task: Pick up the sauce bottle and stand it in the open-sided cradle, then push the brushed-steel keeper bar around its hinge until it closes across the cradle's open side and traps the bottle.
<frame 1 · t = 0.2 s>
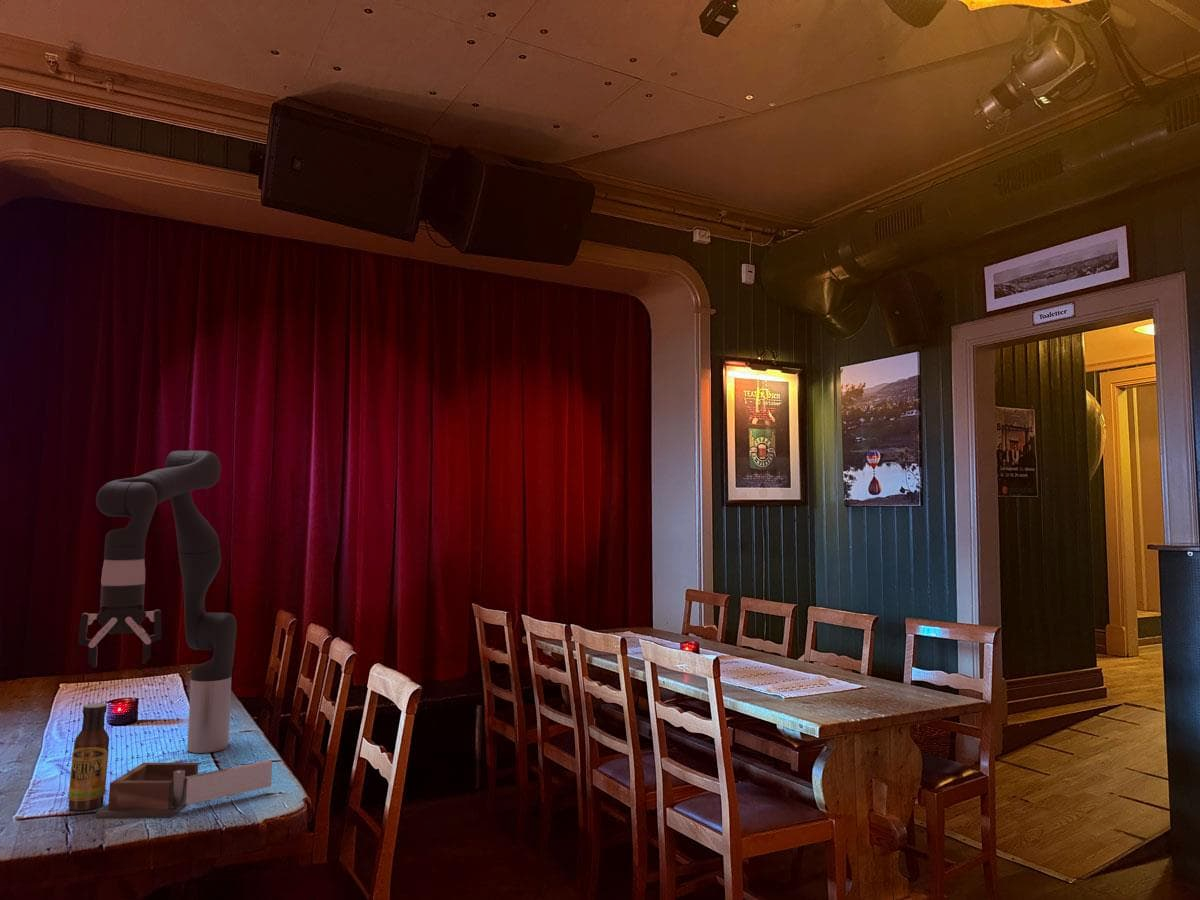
hand: (119, 664, 162), 29 cm above the table, tool pointing down, fingers open, 8 cm apart
cradle: (158, 802, 166), on the table
keeper: (223, 779, 167), point 5 cm above the table, hinge at 50.0°
sauce bottle: (86, 807, 163), on the table
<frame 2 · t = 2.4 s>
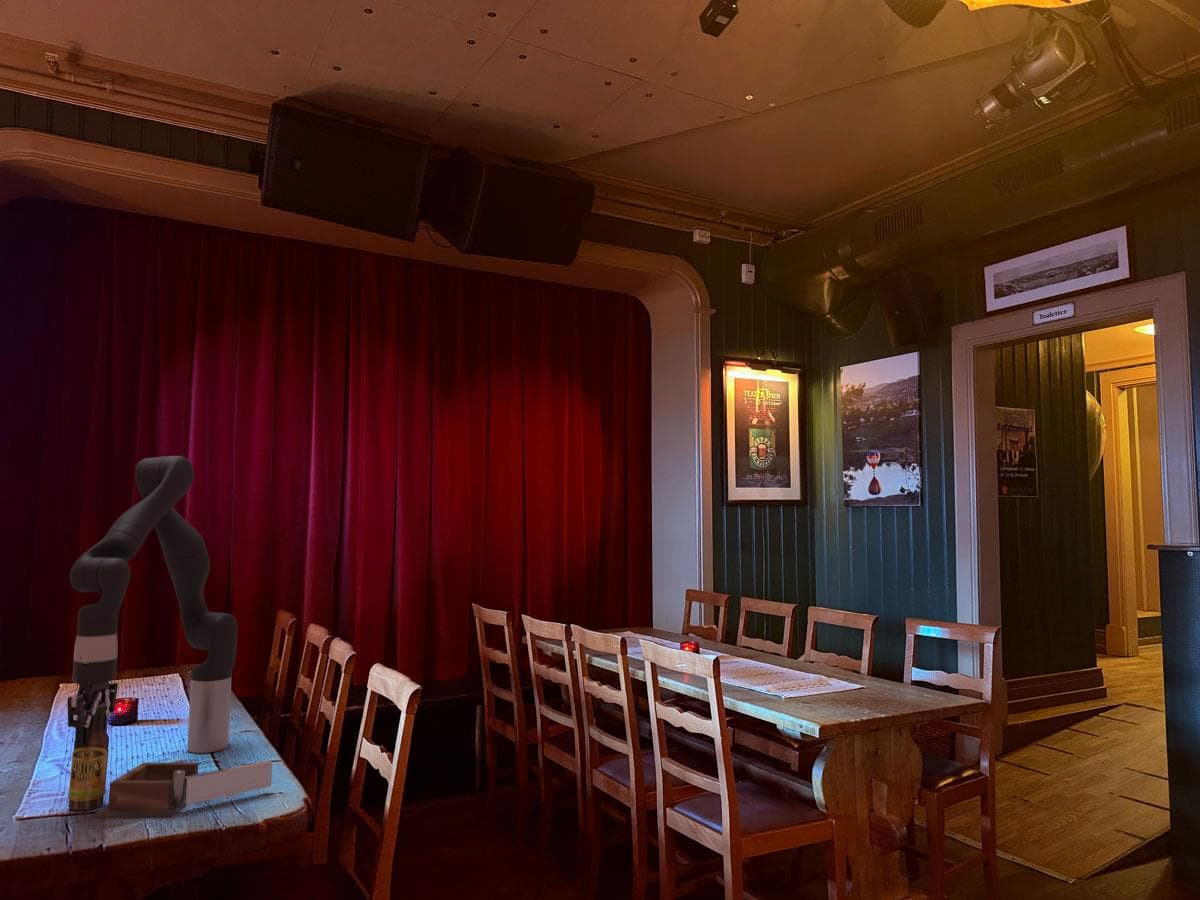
hand: (90, 741, 164), 13 cm above the table, tool pointing down, fingers closed on sauce bottle, 6 cm apart
sauce bottle: (86, 807, 163), on the table, touching gripper
everything else where it was.
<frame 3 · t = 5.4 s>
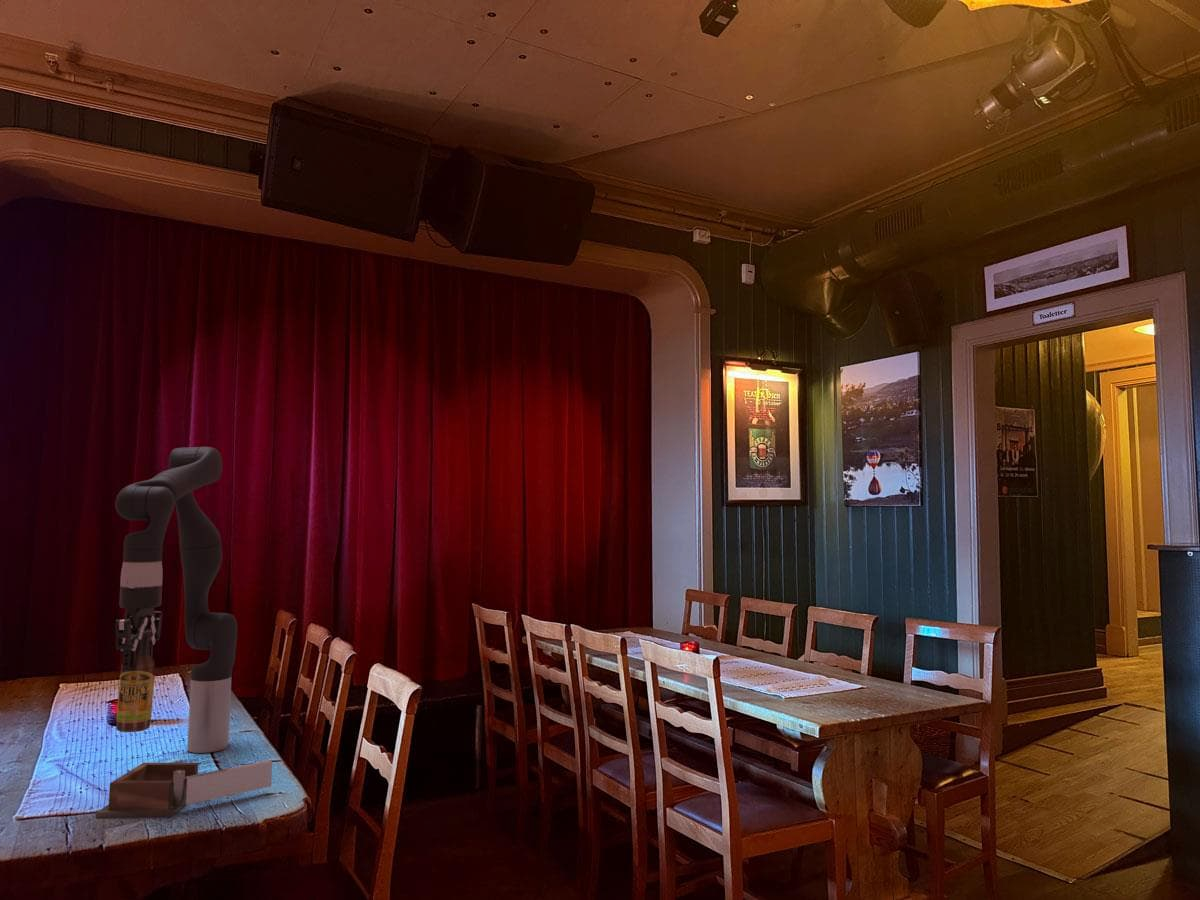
hand: (137, 666, 167), 27 cm above the table, tool pointing down, fingers closed on sauce bottle, 6 cm apart
sauce bottle: (133, 730, 166), point 14 cm above the table, touching gripper
everything else where it was.
when the fingers open (15 cm above the table, at t = 8.7 s): sauce bottle drops 1 cm, resting on cradle.
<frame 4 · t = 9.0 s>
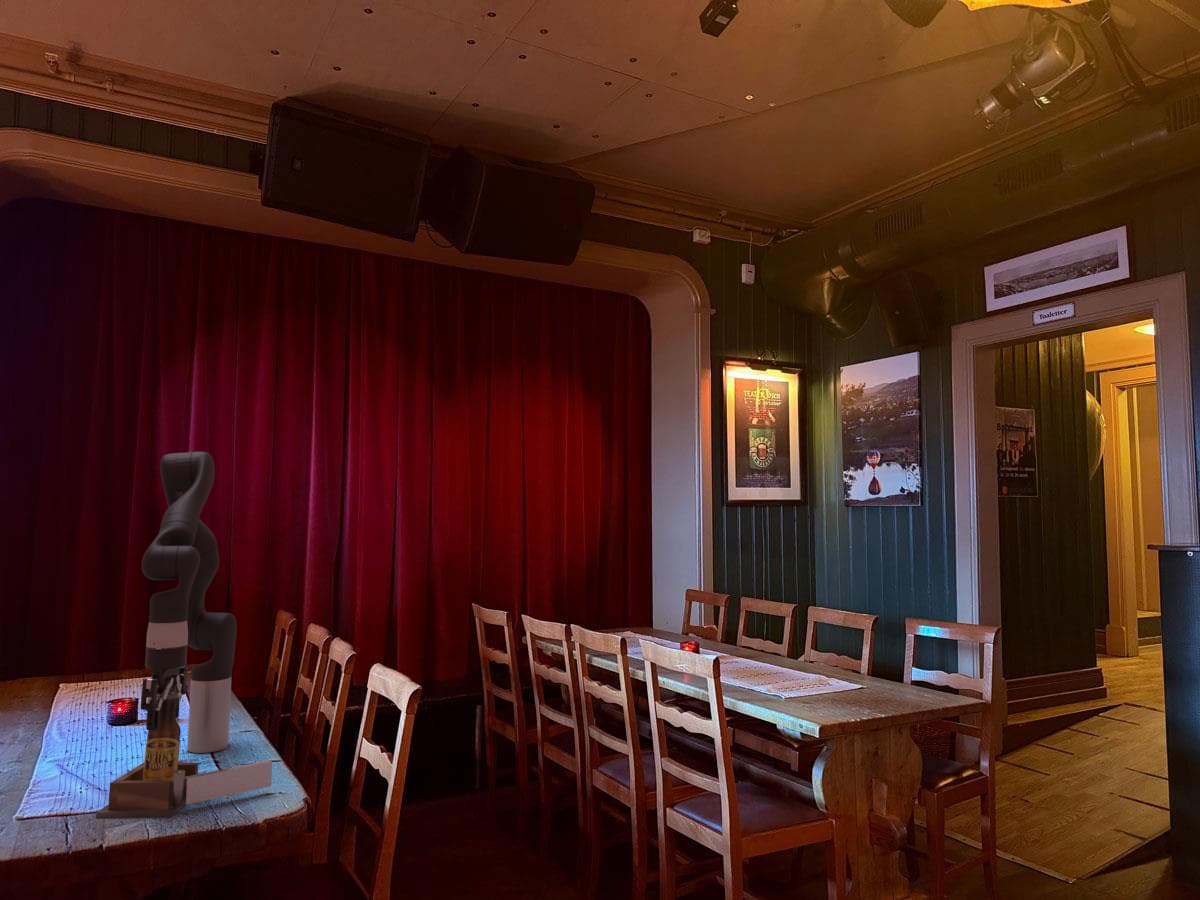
hand: (162, 724, 167), 16 cm above the table, tool pointing down, fingers open, 8 cm apart
sauce bottle: (158, 798, 166), point 1 cm above the table, touching cradle
everything else where it was.
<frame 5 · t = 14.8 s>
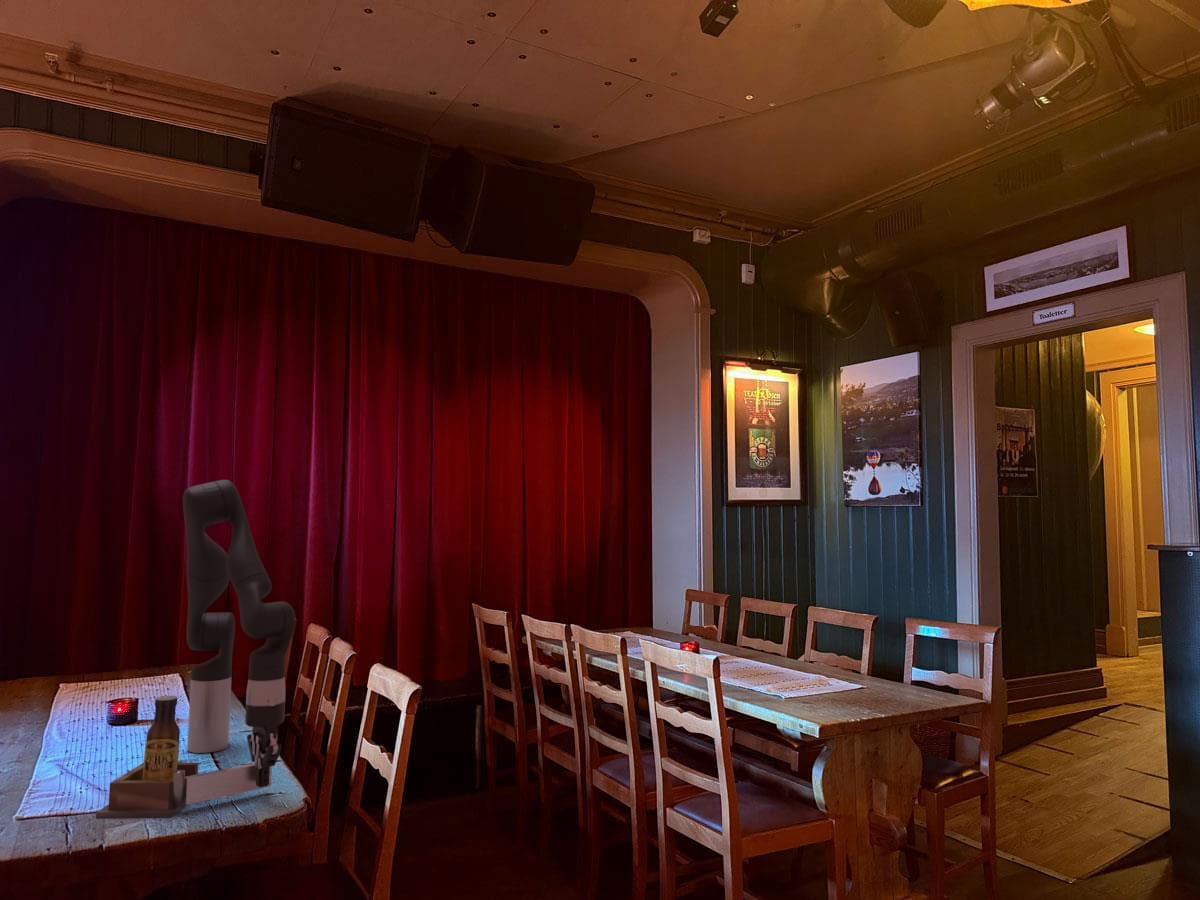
hand: (262, 785, 169), 3 cm above the table, tool pointing down, fingers closed
keeper: (223, 779, 167), point 5 cm above the table, hinge at 49.7°, touching gripper
everything else where it was.
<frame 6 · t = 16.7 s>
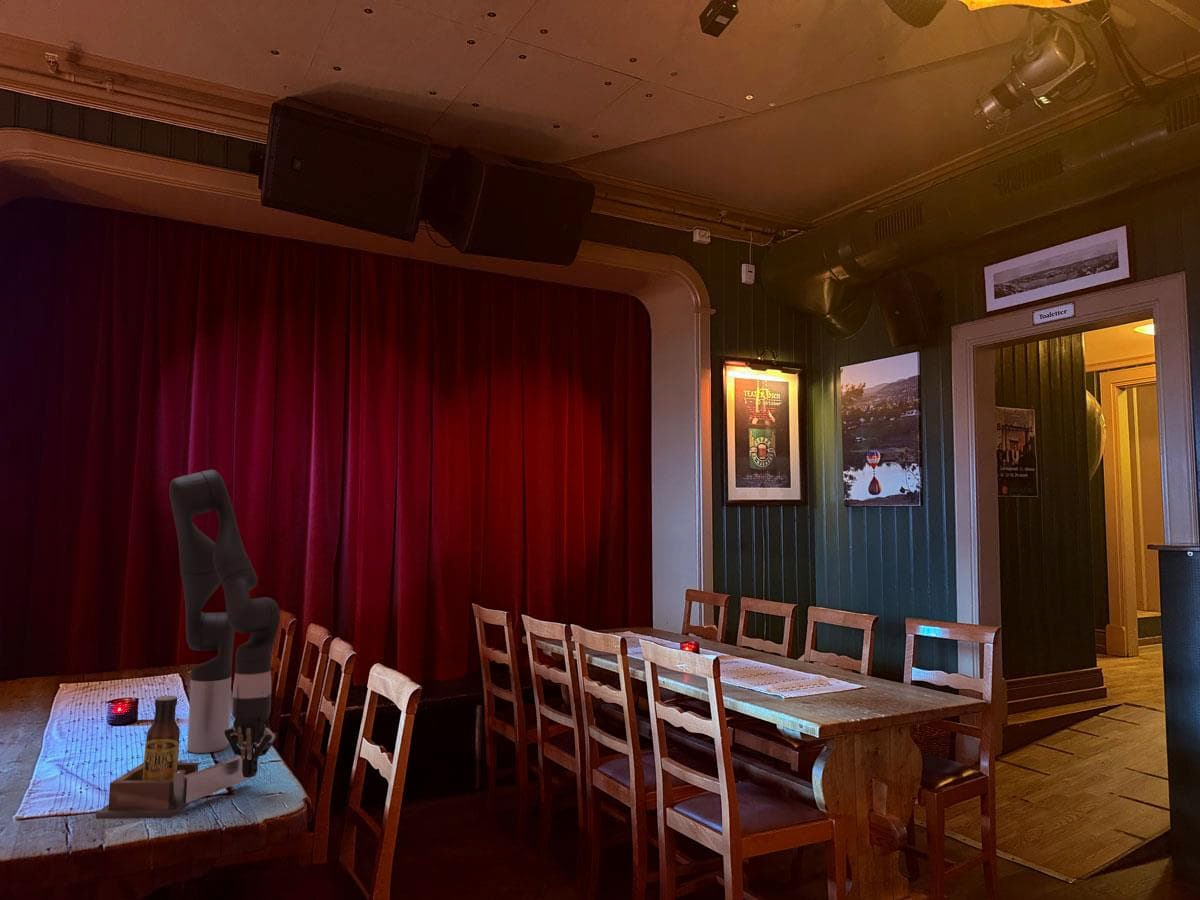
hand: (249, 776, 174), 3 cm above the table, tool pointing down, fingers closed
keeper: (213, 775, 169), point 5 cm above the table, hinge at 24.1°, touching gripper
everything else where it was.
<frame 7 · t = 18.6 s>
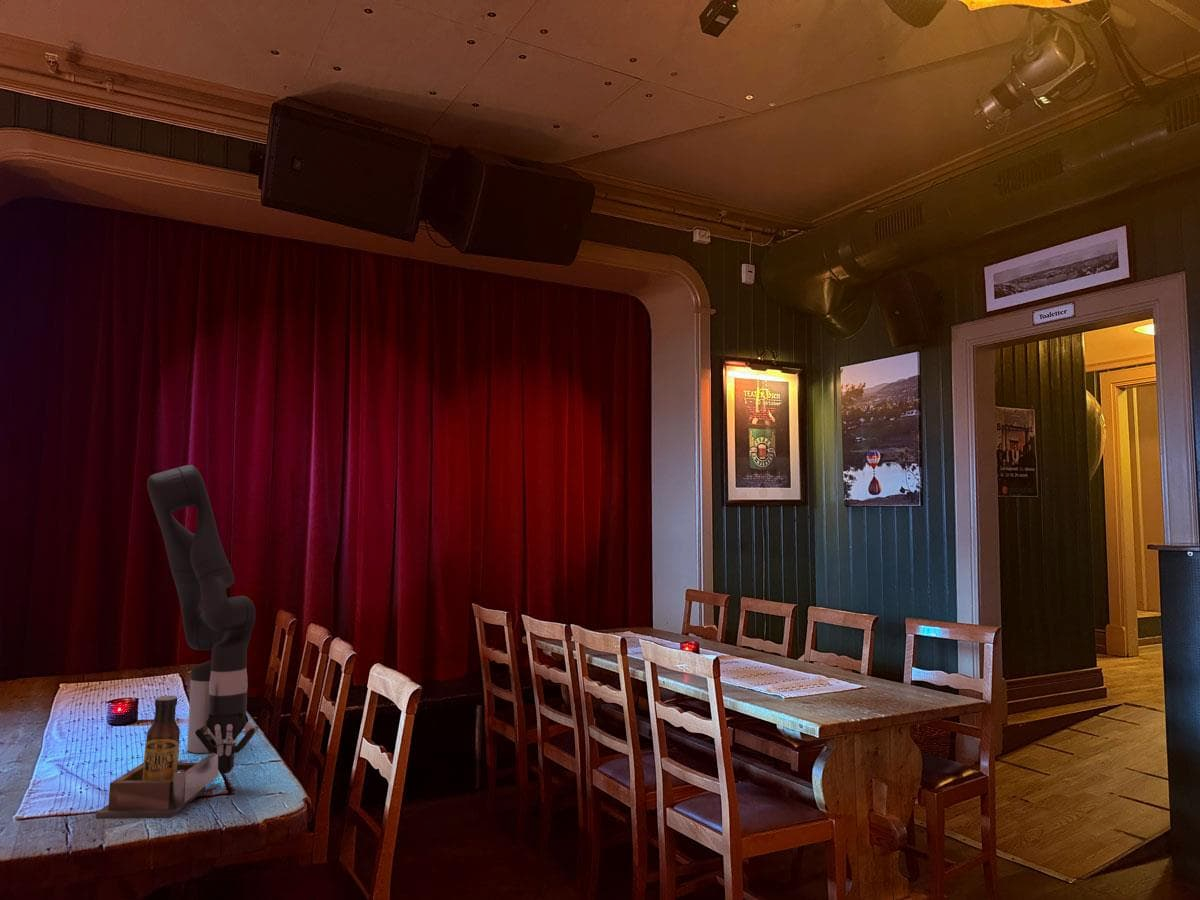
hand: (225, 772, 176), 3 cm above the table, tool pointing down, fingers closed
keeper: (197, 774, 169), point 5 cm above the table, hinge at -0.4°, touching gripper
everything else where it was.
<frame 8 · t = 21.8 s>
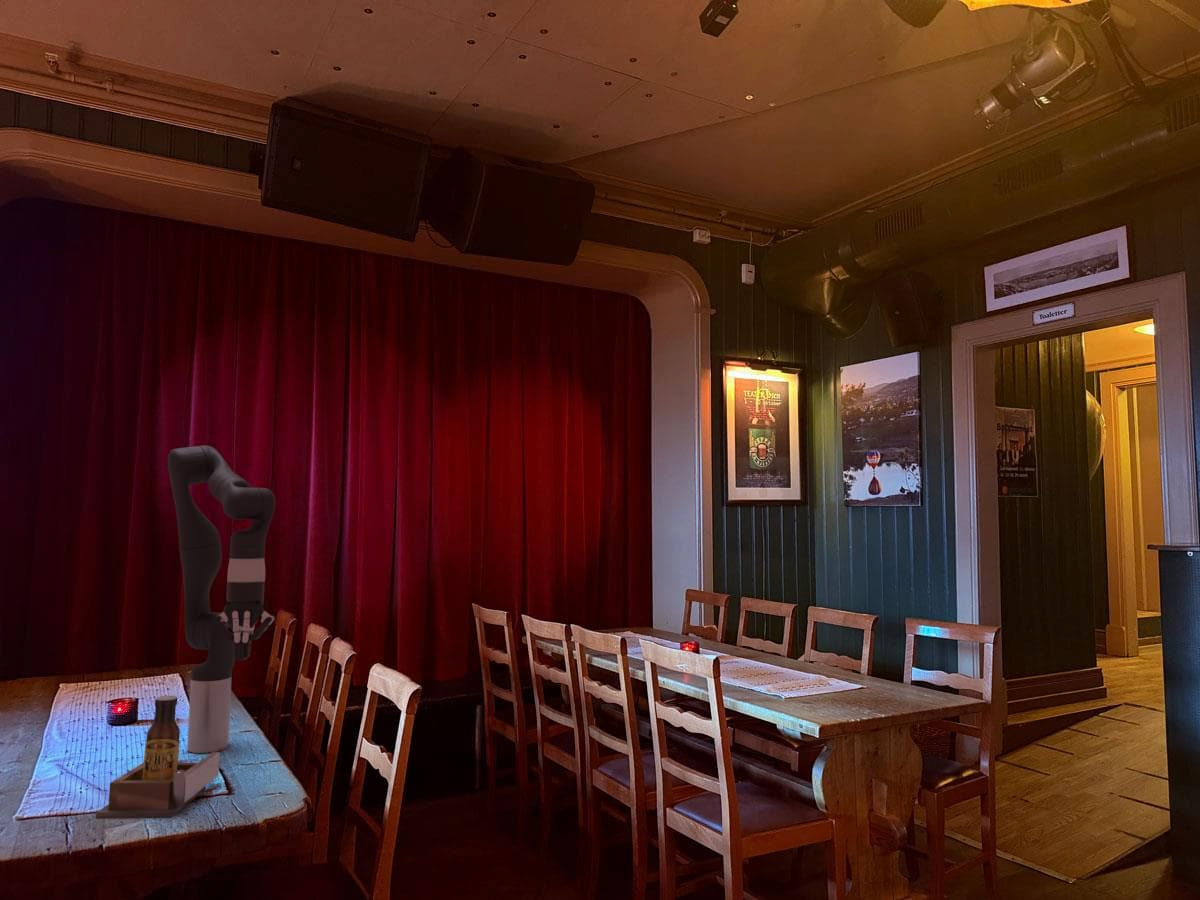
hand: (242, 659, 177), 27 cm above the table, tool pointing down, fingers closed
keeper: (196, 774, 169), point 5 cm above the table, hinge at -0.5°
everything else where it was.
at the end: sauce bottle 0.1 cm off-centre on the cradle, point 0.8 cm above the cradle's base; sauce bottle tilted 0°; keeper at +0° (first picture: +50°) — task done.
